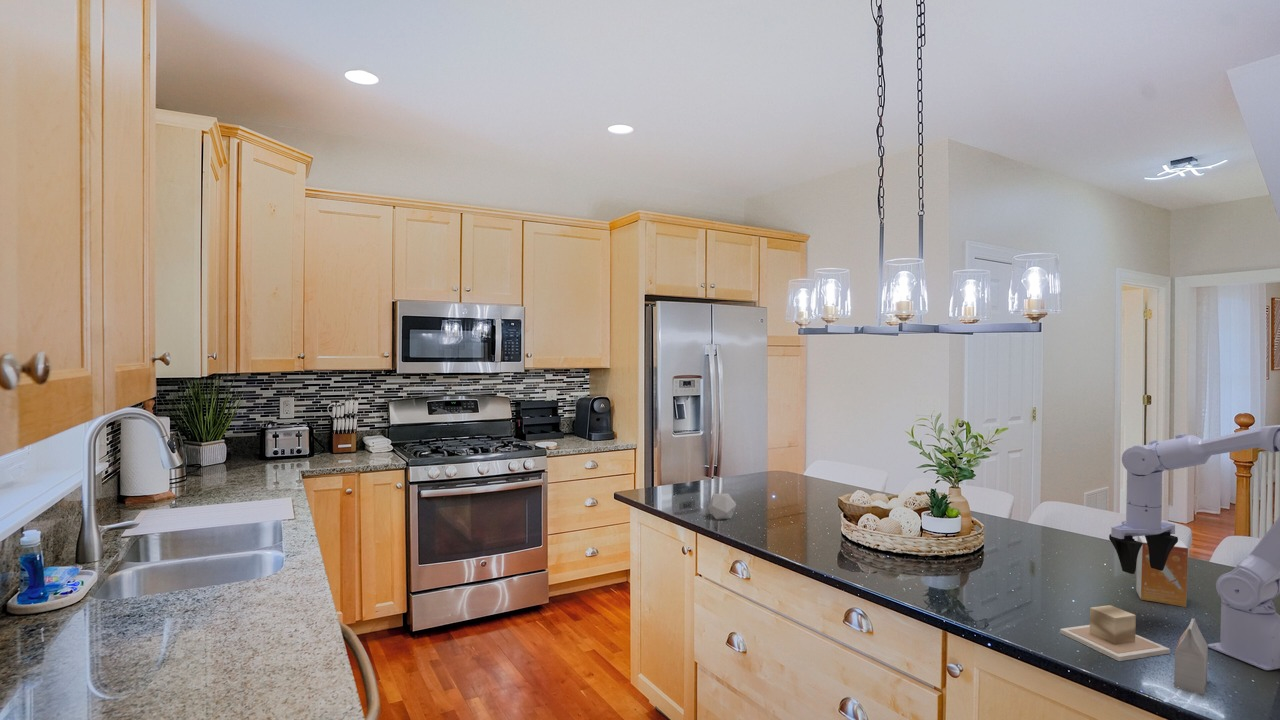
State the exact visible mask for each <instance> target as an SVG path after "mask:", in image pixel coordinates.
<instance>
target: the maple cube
mask: <svg viewBox="0 0 1280 720" xmlns="http://www.w3.org/2000/svg"><path fill="white" fill-rule="evenodd" d="M1136 617H1137V615H1136V614H1134V613H1131V612H1129V611H1126V610H1123V609H1121V608H1119V607H1115V606H1114V605H1111V604H1108V605H1101V606H1092V607H1089V625H1090V634H1092V635H1094V636H1096V637H1098V638H1100V639H1103V640H1105V641H1107V642H1109V643H1111V644H1114V645H1118V644H1124V643H1130V642H1135V634H1136V627H1137V626H1136V621H1137V620H1136Z"/></svg>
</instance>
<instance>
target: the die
mask: <svg viewBox="0 0 1280 720" xmlns="http://www.w3.org/2000/svg"><path fill="white" fill-rule="evenodd" d="M736 507H737V503H736V502H735V500H734V499H733V498H732V496H731V495H730V494H729V493H713V494H712V496H711V499H710V502H709V504H708V505H707V509H708V510H709V512H710V513H711V515H712V516H713V517H714V519H715V520H717V521H718V520H731V519H732V517H733V514H734V512H735V510H736Z"/></svg>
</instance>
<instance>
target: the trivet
mask: <svg viewBox="0 0 1280 720" xmlns="http://www.w3.org/2000/svg"><path fill="white" fill-rule="evenodd" d="M1059 634H1061V635H1063V636H1065V637H1067V638H1069V639H1072V640H1074V641H1076V642H1078V643H1080V644H1082V645H1085V646H1087V647H1088V648H1091V649H1092V650H1094V651H1096V652H1099V653H1101V654H1104V655H1105V656H1107V657H1109V658H1111V659H1112V660H1116V661H1117V662H1124V661H1130V660H1136V659H1142V658H1150V657H1155V656H1162V655H1167V654H1171V648H1169V647H1166V646H1164V645H1162V644H1160V643H1156V642H1155V641H1152V640H1150V639H1148V638H1146V637H1143V636H1141V635H1139V634H1137V633H1135V642H1130V643H1124V644H1118V645H1114V644H1111V643H1109V642H1107V641H1105V640H1103V639H1100V638H1098V637H1096V636H1094V635H1092V634H1090V624H1085V625H1078V626H1071V627H1070V626H1069V627H1063V628H1059Z"/></svg>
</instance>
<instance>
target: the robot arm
mask: <svg viewBox="0 0 1280 720" xmlns="http://www.w3.org/2000/svg"><path fill="white" fill-rule="evenodd" d="M1174 437H1175V438H1169V439H1165V440H1161V441H1158V440H1156V439H1155V440H1150V441H1148V443H1149V444H1144V445H1133V446H1131V447H1129V448H1127V449H1126V450H1124V452H1123V453H1122V455H1121V463H1122V465H1123V468H1124V469H1126V501H1125V502H1126V515H1125V520H1122V521H1121V524H1120V525H1115V526H1111V529H1110V531H1111V533H1110V534H1109V536H1108V537H1109V538H1108V539H1109V541H1110V542H1111V544H1112V545H1113V548H1114V549H1115V551H1116V554H1117V557H1118V560H1119V562H1120V563H1119V564H1120V567H1121V570H1122V572H1124V573H1128V574H1130V575H1135V573H1136V572H1137V557H1138V553H1139V550H1140V548H1141V546H1142V544H1143V543H1142V542H1138V540H1135V537H1138V536H1144V537H1145V538H1146V541H1147V544H1148V549H1149V562H1150V567H1151V568H1154V569H1157V570H1160V571H1163V569H1164V567H1165V564H1166V561H1167V558H1168V556H1169V553H1170V552H1171V550H1172V548H1173V547H1174V546H1175V544H1176V543H1177V542H1178V540H1179V537H1178V536H1175V534H1176V524H1174V523H1171V522H1166V521H1165V522H1162V519H1163V518H1162V516H1163V515H1162V514H1163V513H1162V511H1163V472H1164V471H1173V470H1178V469H1184V468H1189V467H1196V466H1200V465H1201V466H1202V465H1205V464H1206V463H1207V462H1208V461H1209V459H1210V457H1211V456H1215V455H1220V454H1227V453H1234V452H1240V451H1246V450H1251V449H1261V450H1263V451H1267V452H1270V453H1273V454H1274V453H1278V452H1280V424H1276V425H1275V424H1274V425H1268V426H1267V425H1266V426H1265V425H1264V426H1259V427H1255V428H1249V429H1246V430H1241V431H1240V430H1239V431H1237V432H1233V433H1228V434H1222V435H1220V436H1216V437H1211V438H1206V439H1204V438H1201V437H1198V436H1197V435H1195V434H1194V435H1193V434H1189V435H1187V434H1186V433H1179V434H1175V435H1174ZM1133 537H1134V538H1133ZM1215 588H1216V591H1217V594H1218V596H1219V597H1220V600H1221V602H1220V638H1219V641H1220V642H1214V643H1207V645H1208V648H1209V649H1211V650H1214V651H1218V652H1219V653H1221V654H1225V655H1227V656H1229V657H1231V658H1234V659H1236V660H1240V661H1241V662H1244V663H1246V664H1249V665H1251V666H1255V667H1257V668H1259V669H1262V670H1264V671H1273V670H1278V669H1280V614H1279V613H1278V612H1276V606H1275V605H1274V602H1273V599H1275V598H1276V597H1278V596H1279V594H1280V516H1278V518H1277V520H1275V521H1274V523H1273V524H1272V525H1271V527H1270V528H1269V529H1268V531H1267V532H1266V533H1265V534H1264V536H1263V537H1262V538H1261V540H1260V541H1259V542H1258V543H1257V544H1256V545H1255V547H1254V549H1253V550H1252V551H1251V552H1250V553H1249V554H1248V555H1247V556H1246V557H1245V558H1243V560H1241V561H1240V562H1239V563H1238V564H1237V565H1236V566H1235V567H1234V569H1232V570H1231V571H1228V572H1225V573H1223V574H1221V575H1220V576H1219V577H1218V578H1217V580H1216V582H1215Z"/></svg>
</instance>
